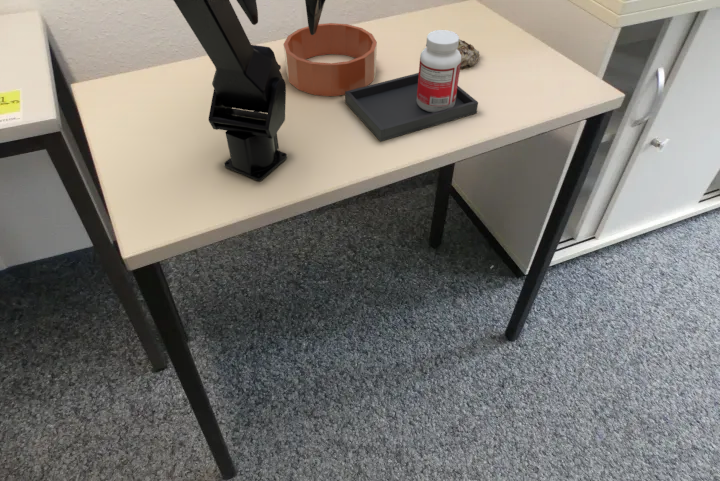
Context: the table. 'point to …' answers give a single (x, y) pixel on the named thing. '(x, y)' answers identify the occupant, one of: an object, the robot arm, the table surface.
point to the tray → (402, 107)
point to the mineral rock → (467, 53)
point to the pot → (330, 75)
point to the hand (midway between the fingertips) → (283, 28)
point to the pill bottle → (439, 71)
